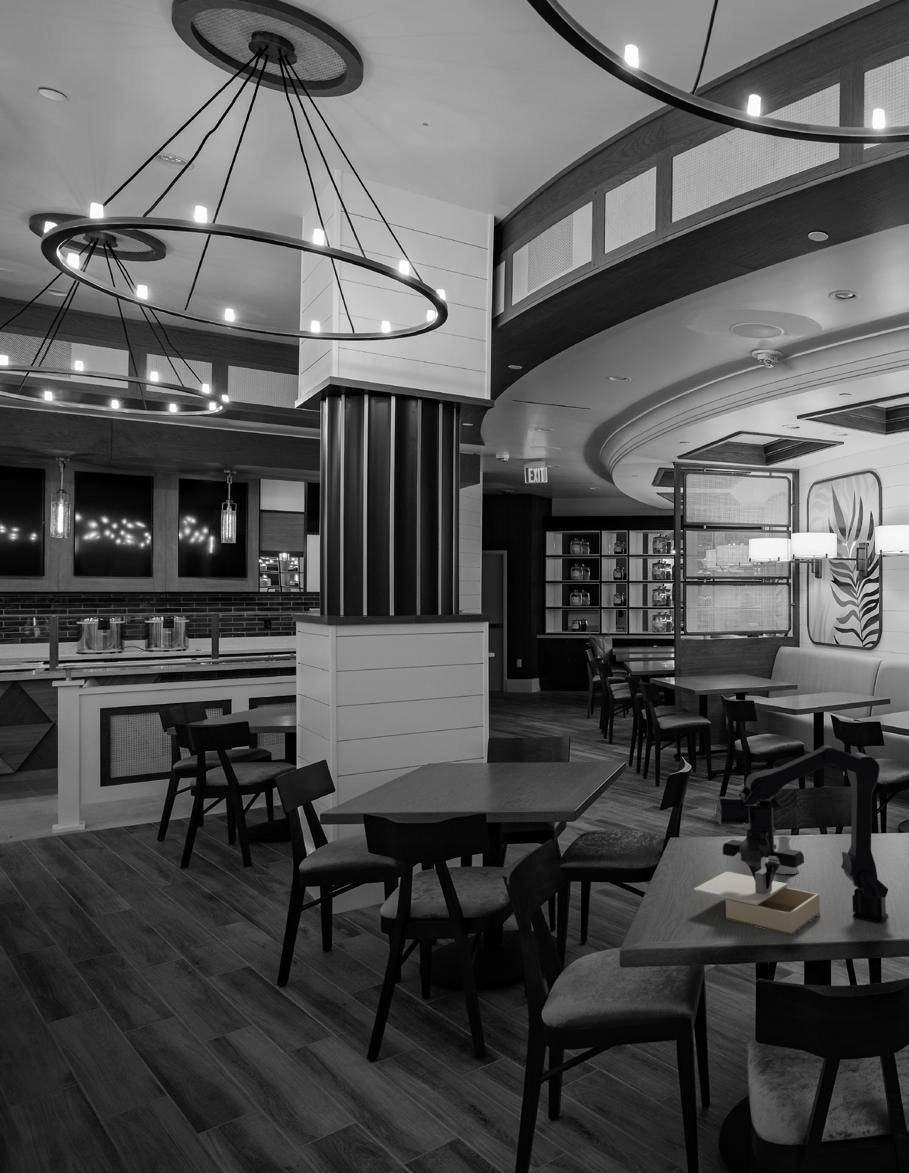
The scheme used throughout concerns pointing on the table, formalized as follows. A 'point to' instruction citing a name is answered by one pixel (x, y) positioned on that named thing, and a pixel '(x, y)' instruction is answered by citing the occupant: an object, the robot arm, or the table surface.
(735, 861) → the toilet tissue
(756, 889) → the carton lid
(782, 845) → the flask
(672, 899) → the table surface
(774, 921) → the carton
